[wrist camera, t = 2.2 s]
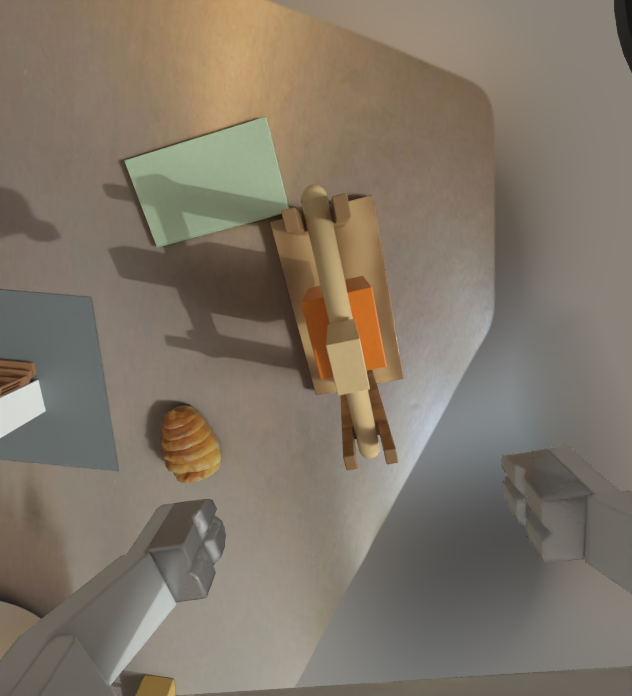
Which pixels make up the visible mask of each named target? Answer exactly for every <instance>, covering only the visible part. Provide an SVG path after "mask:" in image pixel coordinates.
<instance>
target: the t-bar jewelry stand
mask: <svg viewBox="0 0 632 696" xmlns="http://www.w3.org/2000/svg"><path fill="white" fill-rule="evenodd" d="M301 203H302V207H303V212H304V216H305V220H306V225H307V229H308V233H309V237H310V242H311V246H312V250H313V255H314V259H315V263H316V267H317V272H318V276H319V280H320V286H316V287H312V288H309V289H308V291H307V292H306V294H305V296H304V298H303V300H302V302H301V306H302V310H303V314H304V318H305V322H306V326H307V330H308V334H309V337H310V341H311V345H312V349H313V353H314V357H315V361H316V365H317V369H318V372H319V376H320V379H321V380H322V379H327V378H332V377H334V382H335V386H336V390H337V394H338V395H343V394H346V396H347V400H348V405H349V409H350V413H351V417H352V422H353V426H354V430H355V435H356V439H357V443H358V447H359V451H360V453H361V455H362V456H363V457H365V458H368V459H372V458H375V457H376V456H377V455H378V453H379V451H380V446H379V441H378V436H377V432H376V427H375V422H374V417H373V412H372V408H371V403H370V398H369V393H368V390H369V389H370V386H369V381H368V376H367V370H372V369H377V368H382V367H386V360H385V354H384V349H383V343H382V338H381V333H380V327H379V322H378V316H377V311H376V305H375V300H374V295H373V289H372V286H371V285H370V284H369V283H368V281H367V280H366V279H365V278H364V276H358V277H354V278H350V279H346V280H345V278H344V274H343V269H342V264H341V259H340V254H339V250H338V245H337V240H336V235H335V231H334V226H333V221H332V216H331V211H330V207H329V202H328V197H327V194H326V192H325V190H324V189H323V188H322V187H321V186H319V185H310V186H308V187H307V188H305V190H304V191H303V193H302V196H301Z"/></svg>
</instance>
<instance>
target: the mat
mask: <svg viewBox="0 0 632 696" xmlns="http://www.w3.org/2000/svg"><path fill="white" fill-rule="evenodd" d="M125 164H126V167H127V169H128V172H129V175H130V177H131V180H132V183H133V185H134V188H135V191H136V193H137V196H138V199H139V201H140V204H141V206H142V209H143V212H144V214H145V217H146V220H147V222H148V225H149V228H150V230H151V233H152V236H153V238H154V241H155V244H156V246H157V247H163V246H166V245H170V244H174V243H177V242H181V241H185V240H189V239H192V238H196V237H200V236H203V235H207V234H211V233H215V232H218V231H222V230H226V229H229V228H233V227H237V226H241V225H244V224H248V223H252V222H256V221H259V220H263V219H267V218H270V217H274V216H278V215H282V214H281V211H282V210H285V209H289V206H288V202H287V198H286V194H285V190H284V186H283V182H282V178H281V174H280V170H279V166H278V162H277V158H276V154H275V149H274V145H273V141H272V137H271V133H270V129H269V125H268V121H267V119H266V117H263V118H260V119H256V120H253V121H250V122H247V123H244V124H240V125H237V126H234V127H231V128H227V129H224V130H221V131H218V132H215V133H211V134H208V135H205V136H202V137H199V138H195V139H192V140H189V141H186V142H182V143H179V144H176V145H173V146H170V147H166V148H163V149H160V150H157V151H154V152H150V153H147V154H144V155H141V156H138V157H134V158H131V159H128V160H125Z"/></svg>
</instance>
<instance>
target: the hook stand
mask: <svg viewBox="0 0 632 696" xmlns="http://www.w3.org/2000/svg"><path fill="white" fill-rule="evenodd" d="M329 207H330V211H331V216H332V221H333V226H334V231H335V235H336V240H337V245H338V250H339V254H340V259H341V264H342V269H343V274H344V278H345V280H346V279H350V278H354V277H358V276H364V278H365V279H366V280H367V281H368V283H369V284H370V285H371V286H372V289H373V295H374V300H375V305H376V311H377V316H378V322H379V327H380V333H381V338H382V343H383V349H384V354H385V360H386V367H382V368H377V369H372V370H367V376H368V381H369V386H370V389H369V390H368V393H369V398H370V403H371V408H372V412H373V417H374V422H375V427H376V432H377V435H380V438H381V442H382V447H383V451H384V455H385V459H386V463H387V464H392V463H398V458H397V453H396V448H395V445H394V441H393V438H392V435H391V431H390V428H389V424H388V421H387V417H386V414H385V411H384V407H383V404H382V401H381V397H380V394H379V390H378V387H377V384H378V383H384V382H389V381H394V380H399V379H404V376H403V370H402V364H401V359H400V353H399V347H398V341H397V335H396V329H395V323H394V317H393V311H392V305H391V299H390V293H389V287H388V281H387V275H386V269H385V263H384V258H383V252H382V246H381V240H380V234H379V228H378V222H377V216H376V210H375V204H374V198H373V195H370V196H366V197H362V198H359V199H355V200H351V201H348V197H347V193H344V194H340V195H336V196H333V197H332V204H330V205H329ZM281 214H282V218H283V219H280V220H276V221H272V222H270V224H271V228H272V232H273V236H274V239H275V243H276V247H277V251H278V254H279V258H280V262H281V266H282V269H283V273H284V277H285V281H286V284H287V288H288V292H289V296H290V300H291V303H292V307H293V311H294V315H295V318H296V322H297V326H298V330H299V333H300V337H301V341H302V345H303V348H304V352H305V356H306V360H307V363H308V367H309V371H310V375H311V378H312V382H313V386H314V390H315V393H316V395H321V394H326V393H332V392H337V390H336V386H335V382H334V377H332V378H327V379H322V380H321V379H320V376H319V372H318V369H317V365H316V361H315V357H314V353H313V349H312V345H311V341H310V337H309V334H308V330H307V326H306V322H305V318H304V314H303V310H302V306H301V302H302V300H303V298H304V296H305V294H306V292H307V291H308V289H309V288H312V287H316V286H320V280H319V276H318V272H317V267H316V263H315V259H314V255H313V250H312V246H311V242H310V237H309V233H308V229H307V225H306V220H305V216H304V212H300V211H298V210H297V209H296V208H295V207H292V208H289V209H285V210H282V211H281ZM341 419H342V440H343V458H344V462H345V466H346V470H354V469H357V468H358V467H357V457H356V448H355V439H356V435H355V430H354V426H353V422H352V417H351V413H350V409H349V405H348V400H347V396H346V394H343V395H341Z"/></svg>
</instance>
